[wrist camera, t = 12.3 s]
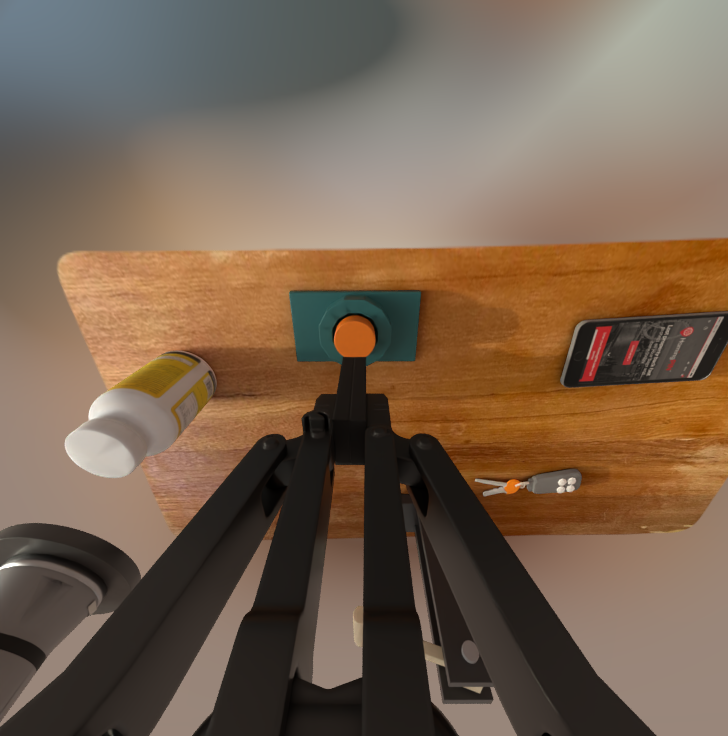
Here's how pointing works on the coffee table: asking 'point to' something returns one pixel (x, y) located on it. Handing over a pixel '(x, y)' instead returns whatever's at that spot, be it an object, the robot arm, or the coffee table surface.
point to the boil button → (355, 337)
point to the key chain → (540, 483)
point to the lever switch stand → (448, 624)
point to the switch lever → (430, 650)
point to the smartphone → (645, 349)
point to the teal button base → (382, 308)
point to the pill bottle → (142, 414)
